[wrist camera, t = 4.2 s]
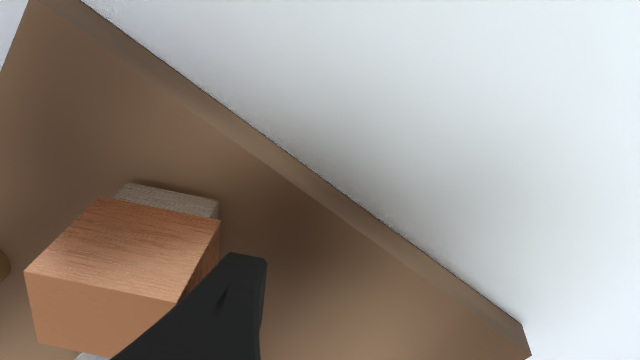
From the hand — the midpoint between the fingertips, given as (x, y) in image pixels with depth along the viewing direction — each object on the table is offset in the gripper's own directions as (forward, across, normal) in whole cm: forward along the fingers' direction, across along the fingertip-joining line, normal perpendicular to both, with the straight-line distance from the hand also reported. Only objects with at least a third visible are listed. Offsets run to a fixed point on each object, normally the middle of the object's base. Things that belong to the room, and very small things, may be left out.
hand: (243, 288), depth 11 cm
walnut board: (+3, +3, +6) cm, 8 cm away
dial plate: (+2, +3, +5) cm, 6 cm away
